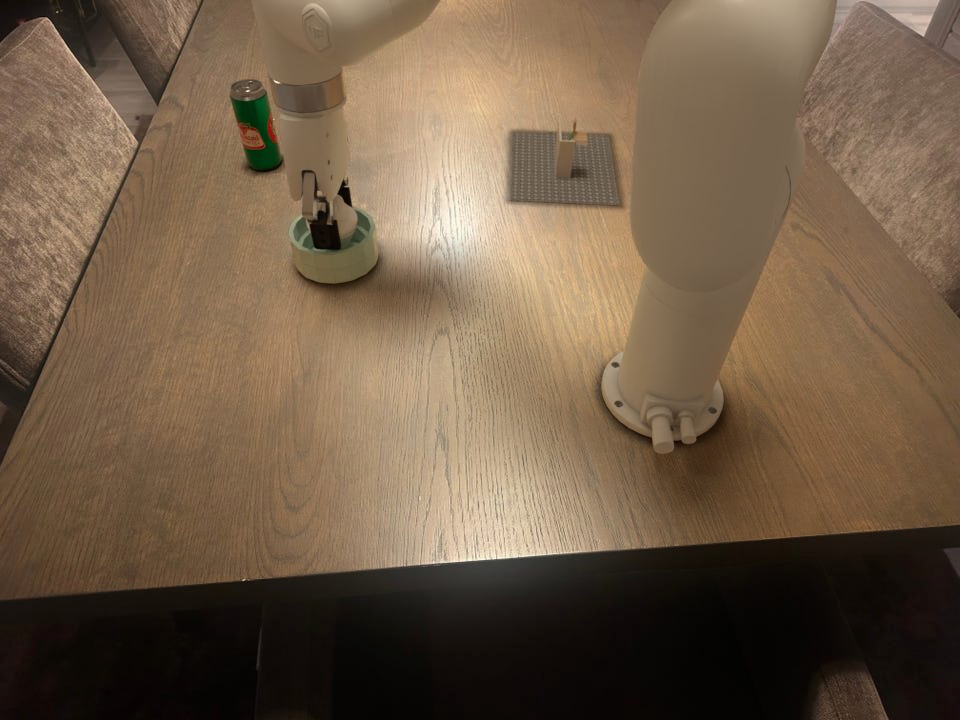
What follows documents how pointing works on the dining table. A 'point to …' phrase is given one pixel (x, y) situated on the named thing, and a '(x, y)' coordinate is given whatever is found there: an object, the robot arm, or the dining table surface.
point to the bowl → (335, 252)
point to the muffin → (341, 219)
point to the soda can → (255, 124)
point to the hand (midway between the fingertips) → (334, 230)
